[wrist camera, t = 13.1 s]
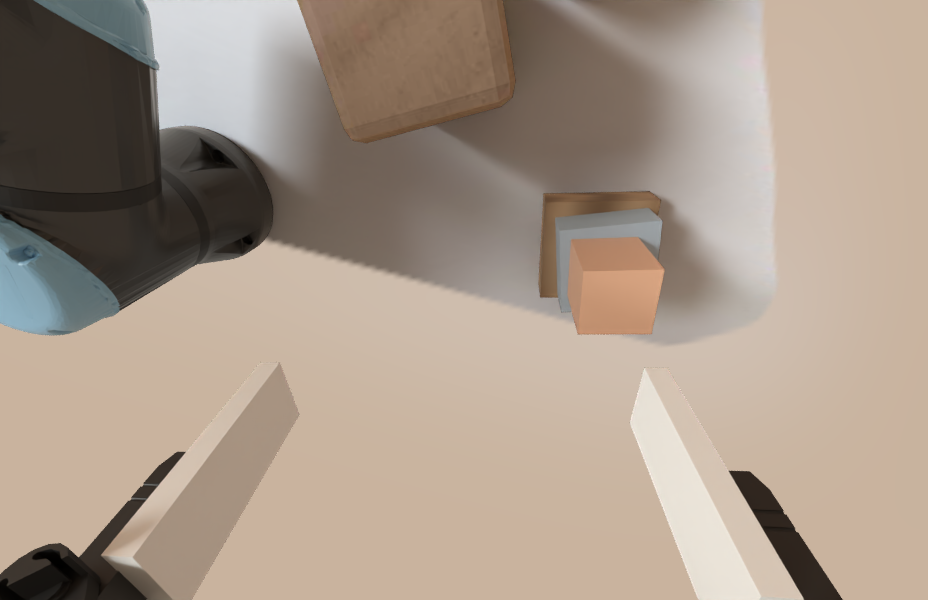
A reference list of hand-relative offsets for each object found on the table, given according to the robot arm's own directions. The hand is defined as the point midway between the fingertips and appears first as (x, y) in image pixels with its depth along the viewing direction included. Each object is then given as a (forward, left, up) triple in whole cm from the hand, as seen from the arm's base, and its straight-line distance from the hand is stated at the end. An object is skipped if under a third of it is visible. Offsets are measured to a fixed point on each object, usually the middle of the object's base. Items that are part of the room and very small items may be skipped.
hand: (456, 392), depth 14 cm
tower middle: (+12, -6, -28) cm, 31 cm away
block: (-4, +13, -32) cm, 35 cm away
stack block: (+11, -6, -24) cm, 27 cm away
